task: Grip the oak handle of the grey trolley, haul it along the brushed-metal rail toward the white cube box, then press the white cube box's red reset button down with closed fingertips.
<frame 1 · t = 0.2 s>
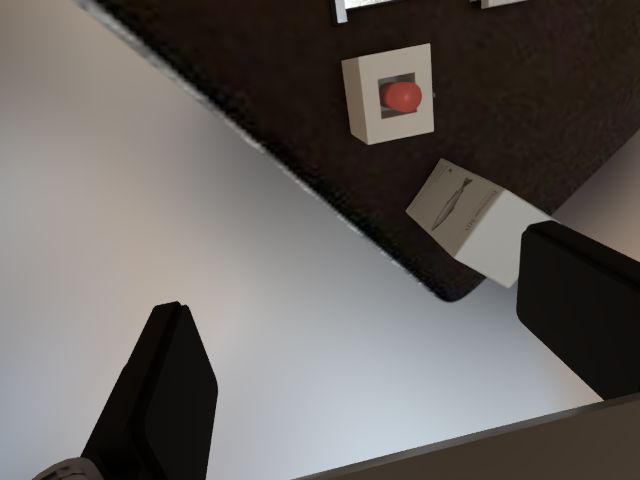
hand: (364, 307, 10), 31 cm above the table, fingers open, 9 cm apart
supplement box: (444, 198, 44), on the table
white cube box: (375, 93, 38), on the table
reset button: (397, 96, 31), point 7 cm above the table, slide at 0.0 cm
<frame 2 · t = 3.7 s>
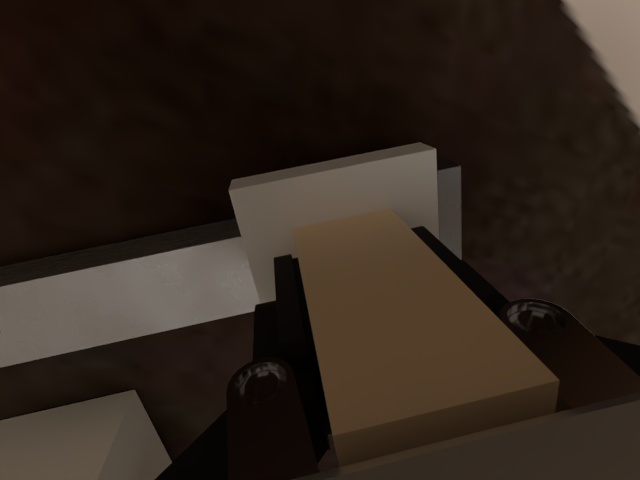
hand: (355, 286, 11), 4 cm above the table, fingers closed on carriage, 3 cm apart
white cube box: (99, 456, 18), on the table
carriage: (364, 308, 10), point 5 cm above the table, slide at 0.0 cm, touching gripper
rail: (184, 265, 15), on the table
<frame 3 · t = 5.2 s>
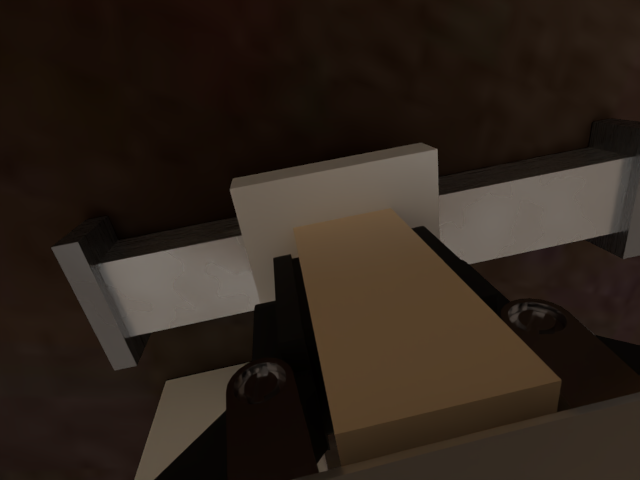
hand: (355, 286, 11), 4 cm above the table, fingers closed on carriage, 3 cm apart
white cube box: (249, 419, 18), on the table
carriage: (365, 307, 10), point 5 cm above the table, slide at 7.5 cm, touching gripper
rail: (367, 226, 15), on the table
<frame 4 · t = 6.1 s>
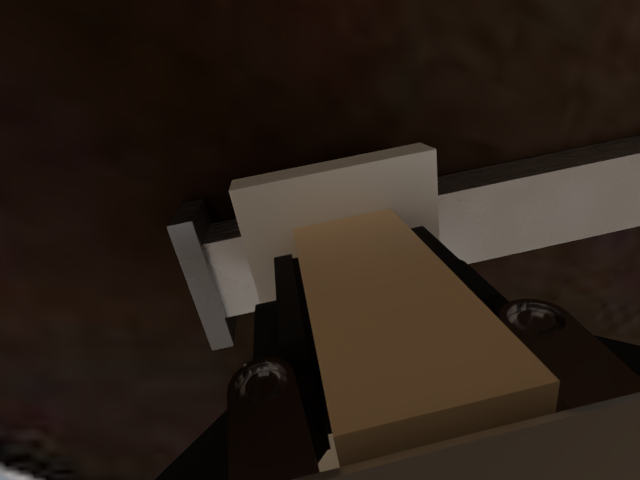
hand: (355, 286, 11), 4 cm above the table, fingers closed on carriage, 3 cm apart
white cube box: (320, 403, 19), on the table
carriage: (364, 308, 10), point 5 cm above the table, slide at 11.0 cm, touching gripper
rail: (449, 209, 15), on the table
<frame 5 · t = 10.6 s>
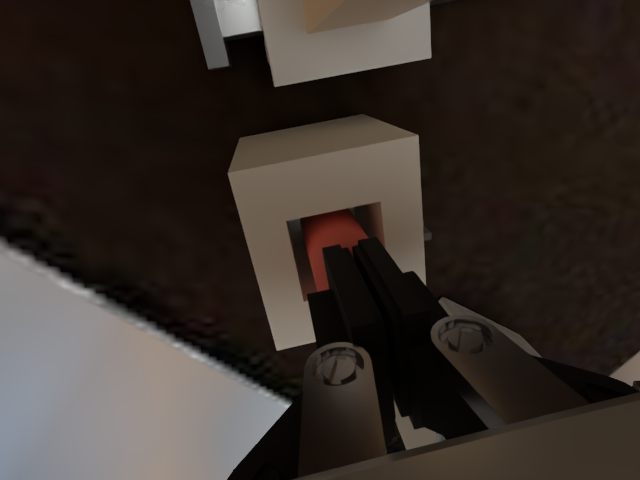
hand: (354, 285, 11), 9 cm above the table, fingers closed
supplement box: (446, 352, 25), on the table
white cube box: (314, 194, 19), on the table
reset button: (336, 244, 14), point 6 cm above the table, slide at 0.8 cm, touching gripper
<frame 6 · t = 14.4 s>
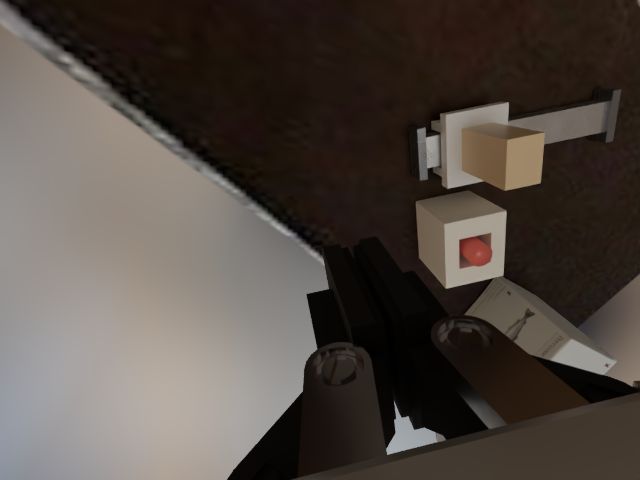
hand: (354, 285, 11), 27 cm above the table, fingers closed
supplement box: (496, 304, 48), on the table
white cube box: (442, 224, 42), on the table
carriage: (487, 150, 33), point 5 cm above the table, slide at 11.0 cm
reset button: (467, 245, 37), point 6 cm above the table, slide at 1.4 cm
rail: (504, 132, 38), on the table
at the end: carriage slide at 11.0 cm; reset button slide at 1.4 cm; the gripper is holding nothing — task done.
